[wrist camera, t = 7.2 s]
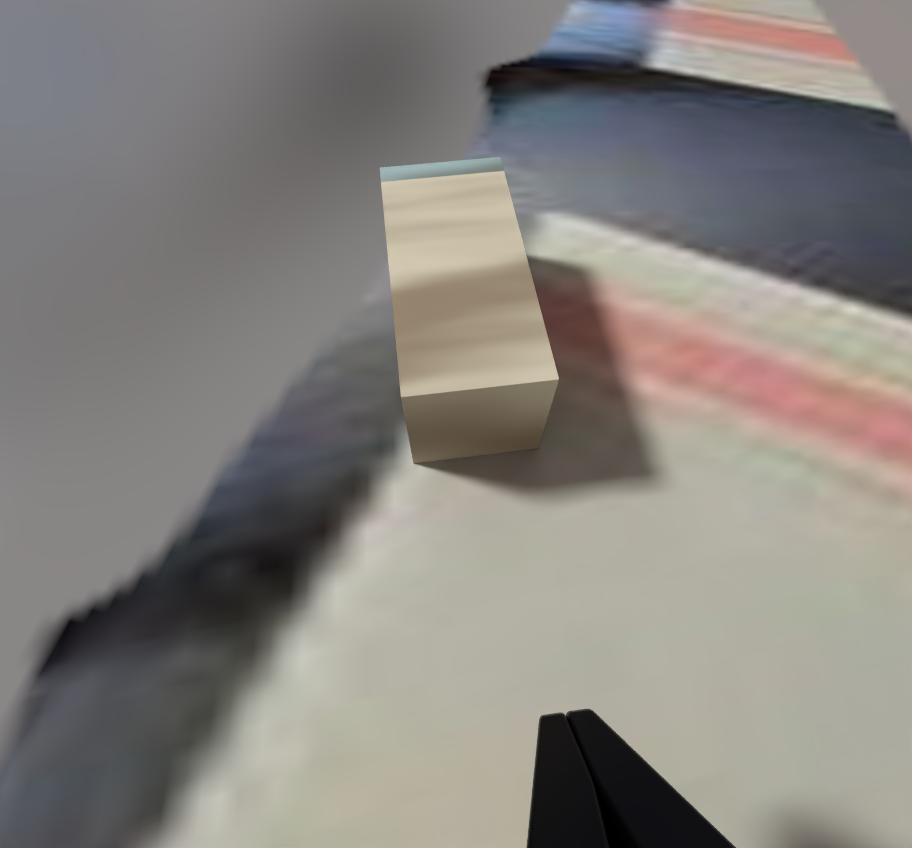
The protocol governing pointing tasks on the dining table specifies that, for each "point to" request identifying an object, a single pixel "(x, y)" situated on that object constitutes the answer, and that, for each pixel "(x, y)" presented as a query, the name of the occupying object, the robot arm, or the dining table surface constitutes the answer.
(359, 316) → the dining table surface
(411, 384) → the beech block
